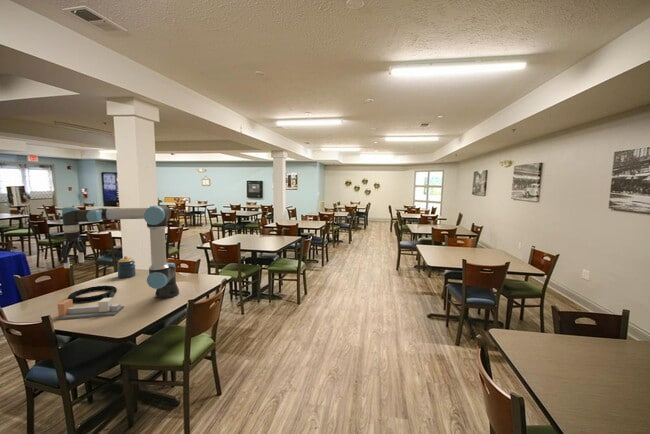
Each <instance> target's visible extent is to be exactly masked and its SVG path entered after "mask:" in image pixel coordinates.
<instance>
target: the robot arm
mask: <svg viewBox="0 0 650 434" xmlns="http://www.w3.org/2000/svg"><path fill="white" fill-rule="evenodd" d="M171 215H172V211H171V209H170V208H169V207H168V206H166V205H163V204H159V205H151V206H149V207H123V208H121V207H120V208H119V207H118V208H117V207H116V208H115V207H114V208H113V207H112V208H109V207H108V208H104V207H102V208H101V207H100V208H96V209H95V208H93V209H92V208H91V209H78V206H65V207H62V208H61V217H62V218H61V219H62V226H63V227H62V228H63V238H64V239H65V240H63V241H62V245H61V250H60V254H59V258H60V259H62V262H63V269H70V268H71V265H70V264H71V263H70V257H69V255H70V254H71V251H72V249H73V248H75V249H76V250H77V251H78V253H77V255H78V256H77V257H78V258H77V259H78V263H85V255H84V253H86V250H87V248H86V246H85V244H84V242H83V239H82V237H81V234H80V233H81V232H80V223H98V222H100V221H103V220H105V221H106V220H107V221H108V220H145V222H146V228H147V229H149V238H150V241H149V242H150V257H151V258H150V261H151V262H150V263H151V266H149V267H148V275H147V278H146V283H147V285H148V286H149V287H150V288H152V289H154V290H155V294H154V296H155V299H170V298H174V297H176V296H178V295H180V289H179V286H178V284H177V277H176V275H177V274H176V268H177V267H176V263H174V262H167V247H166V245H167V244H166V228H167V227H168V221H169V219H170V218H171Z"/></svg>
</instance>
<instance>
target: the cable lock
mask: <svg viewBox="0 0 650 434" xmlns="http://www.w3.org/2000/svg"><path fill="white" fill-rule="evenodd" d="M97 291H107V292H104V293H101V294H96V295H90V296H81V295H83V294H88V293H91V292H92V293H93V292H97ZM117 291H118V289H117V287H115V286H113V285H96V286H89V287H84V288H81V289H79V290H75V291H74V292H71V293H69V295H68V296H67V299H72V301H73V303H77V304H79V303H89V302H96V301H100V300H102V299H103V298H114V297H115V293H117Z"/></svg>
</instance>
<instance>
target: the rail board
mask: <svg viewBox="0 0 650 434" xmlns="http://www.w3.org/2000/svg"><path fill="white" fill-rule="evenodd" d="M124 308H125V306H124V305H122V304H121V303H115V304H114V303H113V305H110V311H106V312H99V307H98V305H89V306H75V307H74V302H73V301H72V299H68V298H67V299H65V300H63V301H61V302H59V303H58V304H57V312H58V315H57V317H56V320H58V321H59V320H70V319H85V318H98V317H110V316H111V317H113V316H115V315H117V314H118V313H119V312H120V311H122V310H123V309H124Z"/></svg>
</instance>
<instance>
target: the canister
mask: <svg viewBox="0 0 650 434" xmlns="http://www.w3.org/2000/svg"><path fill="white" fill-rule="evenodd" d="M134 260H135V259H134V258H133V257H128V256H124V257H123V258H120V259H119V260H117V263H116V265H117V267H116V268H117V278H119V279H129V278H132V277H135V276H136V275H137V274H136V264H135V263H136V262H135V261H134Z"/></svg>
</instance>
